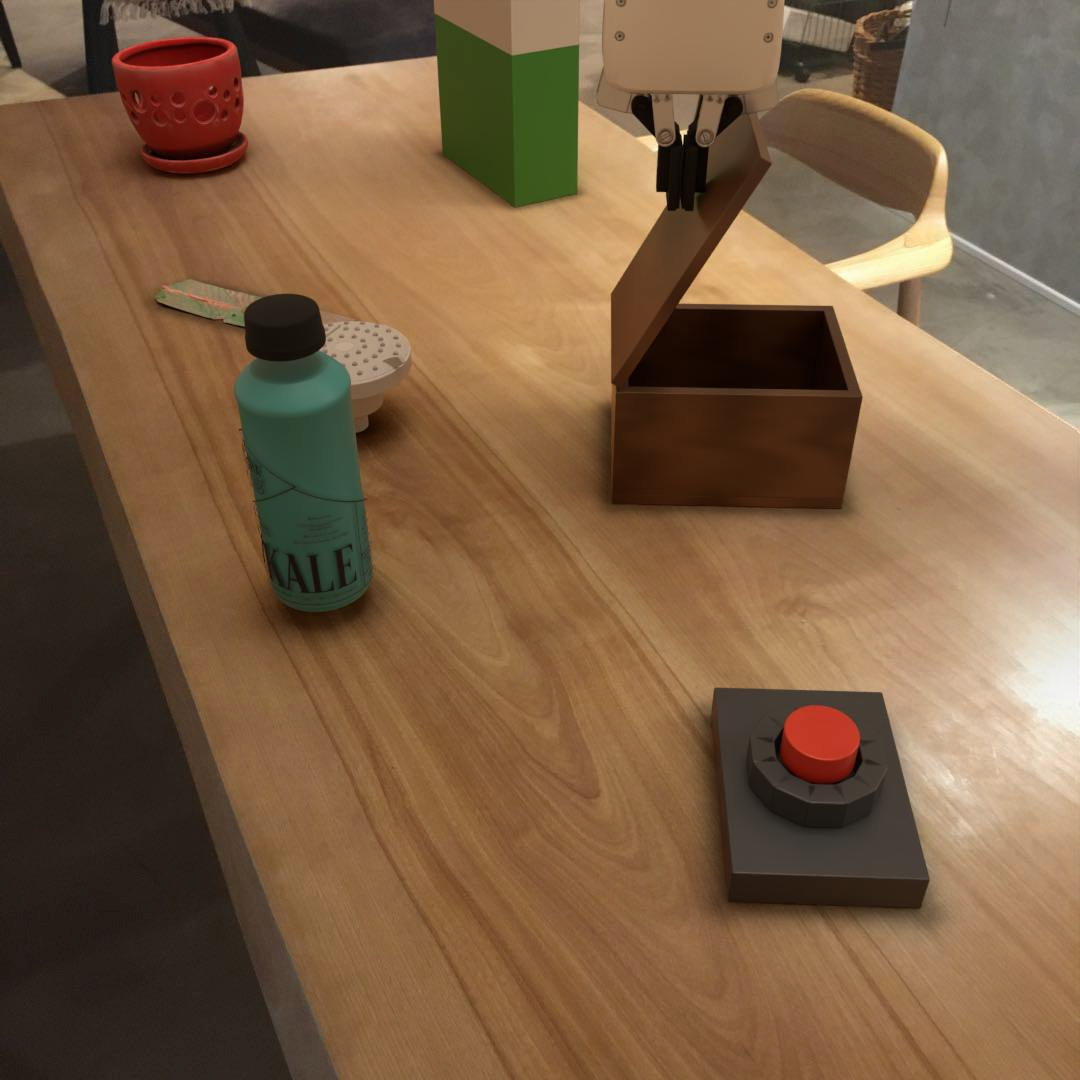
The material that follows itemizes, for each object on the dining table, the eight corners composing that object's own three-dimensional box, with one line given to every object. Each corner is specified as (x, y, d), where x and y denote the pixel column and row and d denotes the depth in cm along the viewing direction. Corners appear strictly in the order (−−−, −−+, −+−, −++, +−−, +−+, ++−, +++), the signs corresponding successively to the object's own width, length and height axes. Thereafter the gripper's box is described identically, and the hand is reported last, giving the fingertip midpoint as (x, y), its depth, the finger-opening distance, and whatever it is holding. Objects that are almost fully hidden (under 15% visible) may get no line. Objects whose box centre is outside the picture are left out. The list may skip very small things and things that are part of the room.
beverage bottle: (342, 552, 76) (302, 265, 64) (399, 604, 72) (369, 308, 60) (252, 594, 73) (192, 300, 61) (307, 651, 69) (255, 348, 57)
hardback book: (442, 153, 133) (428, -82, 119) (500, 142, 136) (494, -90, 121) (514, 207, 121) (509, -49, 106) (577, 193, 124) (580, -58, 109)
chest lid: (751, 92, 76) (740, 86, 75) (772, 163, 66) (760, 156, 65) (620, 298, 85) (610, 293, 85) (621, 388, 75) (610, 383, 75)
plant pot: (270, 142, 137) (253, 33, 129) (230, 185, 127) (210, 69, 119) (163, 137, 138) (141, 30, 131) (115, 179, 128) (88, 65, 121)
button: (776, 728, 59) (780, 703, 58) (848, 730, 59) (853, 705, 58) (784, 783, 56) (788, 759, 55) (860, 786, 56) (866, 761, 55)
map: (182, 283, 109) (179, 274, 108) (365, 320, 101) (364, 310, 100) (144, 306, 105) (141, 296, 105) (331, 346, 97) (329, 336, 96)
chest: (816, 410, 90) (833, 305, 84) (842, 508, 80) (863, 396, 74) (611, 406, 90) (615, 302, 85) (611, 503, 80) (615, 392, 75)
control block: (710, 715, 65) (716, 662, 62) (875, 720, 65) (888, 667, 62) (727, 901, 55) (735, 848, 53) (921, 908, 55) (938, 855, 53)
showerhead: (361, 387, 79) (248, 350, 83) (372, 476, 83) (264, 437, 87) (442, 329, 85) (333, 298, 89) (447, 415, 90) (343, 381, 94)
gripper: (834, -142, 65) (792, 182, 76) (564, -143, 66) (561, 178, 77) (857, -118, 59) (807, 229, 70) (559, -119, 60) (557, 225, 71)
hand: (679, 202), depth 74 cm, fingers closed
